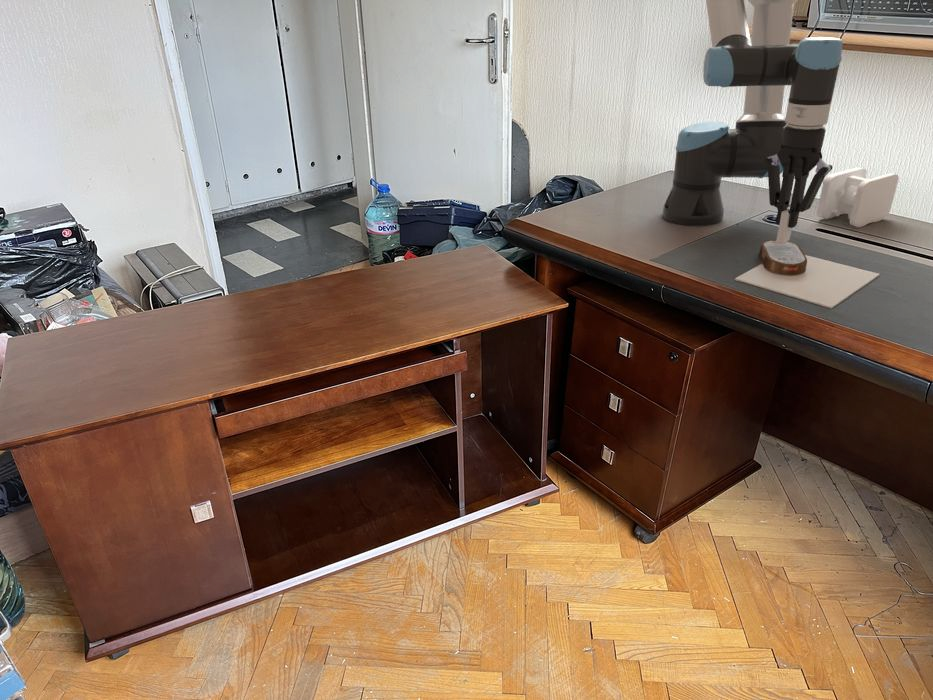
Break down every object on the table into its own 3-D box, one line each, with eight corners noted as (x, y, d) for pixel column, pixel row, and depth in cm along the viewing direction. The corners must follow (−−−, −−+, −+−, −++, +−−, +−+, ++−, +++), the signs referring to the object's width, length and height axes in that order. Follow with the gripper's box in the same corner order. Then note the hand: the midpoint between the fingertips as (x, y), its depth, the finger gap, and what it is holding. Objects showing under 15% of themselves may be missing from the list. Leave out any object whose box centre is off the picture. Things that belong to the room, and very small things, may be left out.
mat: (734, 279, 144) (734, 278, 143) (786, 251, 156) (786, 250, 156) (831, 308, 130) (831, 307, 130) (879, 275, 142) (879, 274, 142)
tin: (767, 274, 144) (809, 279, 143) (771, 260, 143) (813, 265, 141) (755, 249, 157) (794, 252, 156) (758, 236, 155) (797, 239, 154)
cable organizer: (851, 231, 165) (863, 184, 160) (812, 220, 173) (822, 174, 168) (889, 219, 171) (901, 173, 166) (849, 208, 180) (860, 164, 174)
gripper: (763, 124, 135) (744, 238, 146) (830, 132, 126) (804, 253, 137) (782, 118, 139) (762, 229, 150) (848, 126, 130) (822, 243, 142)
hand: (782, 240), depth 144 cm, fingers closed
